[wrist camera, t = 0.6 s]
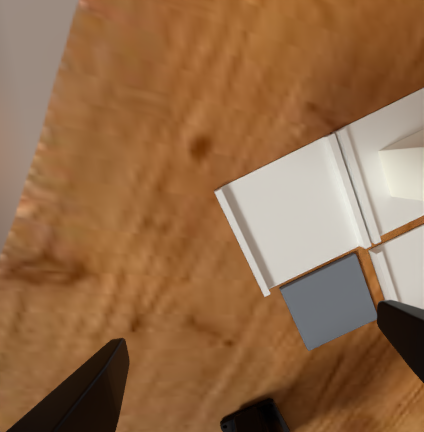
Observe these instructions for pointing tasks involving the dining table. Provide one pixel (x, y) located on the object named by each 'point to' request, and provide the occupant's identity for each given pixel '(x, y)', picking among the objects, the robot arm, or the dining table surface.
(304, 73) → the dining table surface
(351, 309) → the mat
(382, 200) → the tray
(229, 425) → the robot arm
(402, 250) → the tray
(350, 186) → the tray
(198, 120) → the dining table surface
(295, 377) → the dining table surface
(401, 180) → the letter cube
